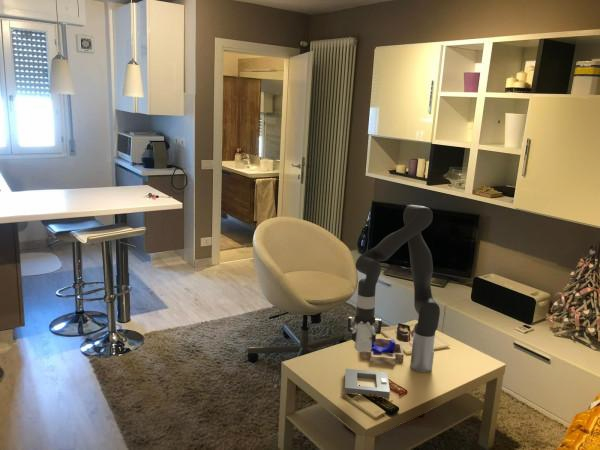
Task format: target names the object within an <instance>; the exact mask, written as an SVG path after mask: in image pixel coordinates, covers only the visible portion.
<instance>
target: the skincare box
mask: <svg viewBox="0 0 600 450" xmlns="http://www.w3.org/2000/svg"><path fill="white" fill-rule="evenodd" d="M355 324H356V326H357V323H356V322H355ZM358 324H359V323H358ZM373 326H374V324H373V325H372V327H373ZM372 334H373V333H372V331H371V330H370V329H369V327H368V325H367V324H366V323H363V324H359V329H358V330H357V331H356V332H355V342H354V346H353V347H354V349H355V350H356V351H357V352H358V353H362V352H364V351H370V350H371V348H372Z"/></svg>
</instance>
